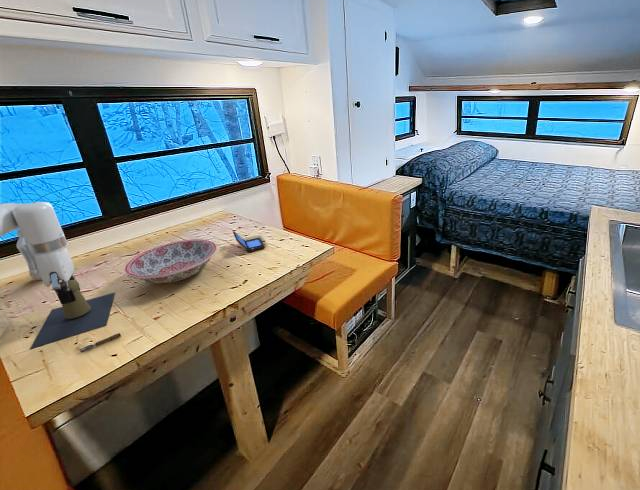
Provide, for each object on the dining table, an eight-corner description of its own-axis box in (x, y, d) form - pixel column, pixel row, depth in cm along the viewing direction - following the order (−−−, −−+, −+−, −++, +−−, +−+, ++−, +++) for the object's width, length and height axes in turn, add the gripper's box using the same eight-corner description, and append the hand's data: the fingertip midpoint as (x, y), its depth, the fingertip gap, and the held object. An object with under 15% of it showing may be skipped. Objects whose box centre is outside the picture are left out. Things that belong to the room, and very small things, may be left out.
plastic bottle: (46, 273, 120) (24, 226, 114) (62, 273, 120) (41, 226, 113) (27, 282, 114) (3, 234, 107) (44, 282, 114) (21, 234, 107)
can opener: (121, 335, 87) (120, 331, 87) (120, 339, 85) (119, 336, 85) (78, 349, 82) (77, 346, 82) (77, 355, 80) (75, 352, 80)
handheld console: (265, 249, 136) (262, 234, 133) (239, 255, 131) (236, 240, 128) (259, 239, 146) (257, 224, 143) (235, 244, 141) (232, 230, 138)
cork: (62, 321, 92) (48, 290, 88) (67, 310, 97) (54, 281, 93) (88, 313, 95) (76, 283, 92) (92, 303, 100) (80, 274, 96)
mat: (30, 349, 83) (29, 348, 83) (51, 310, 99) (51, 309, 99) (106, 325, 91) (106, 324, 91) (115, 292, 107) (115, 292, 107)
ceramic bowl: (183, 252, 135) (179, 235, 132) (236, 261, 126) (233, 243, 124) (111, 289, 109) (103, 270, 106) (171, 303, 100) (165, 283, 98)
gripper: (39, 237, 93) (61, 288, 99) (18, 260, 79) (46, 317, 85) (73, 231, 97) (92, 280, 103) (58, 252, 83) (81, 307, 89)
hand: (71, 296), depth 94 cm, fingers closed on cork, 5 cm apart
